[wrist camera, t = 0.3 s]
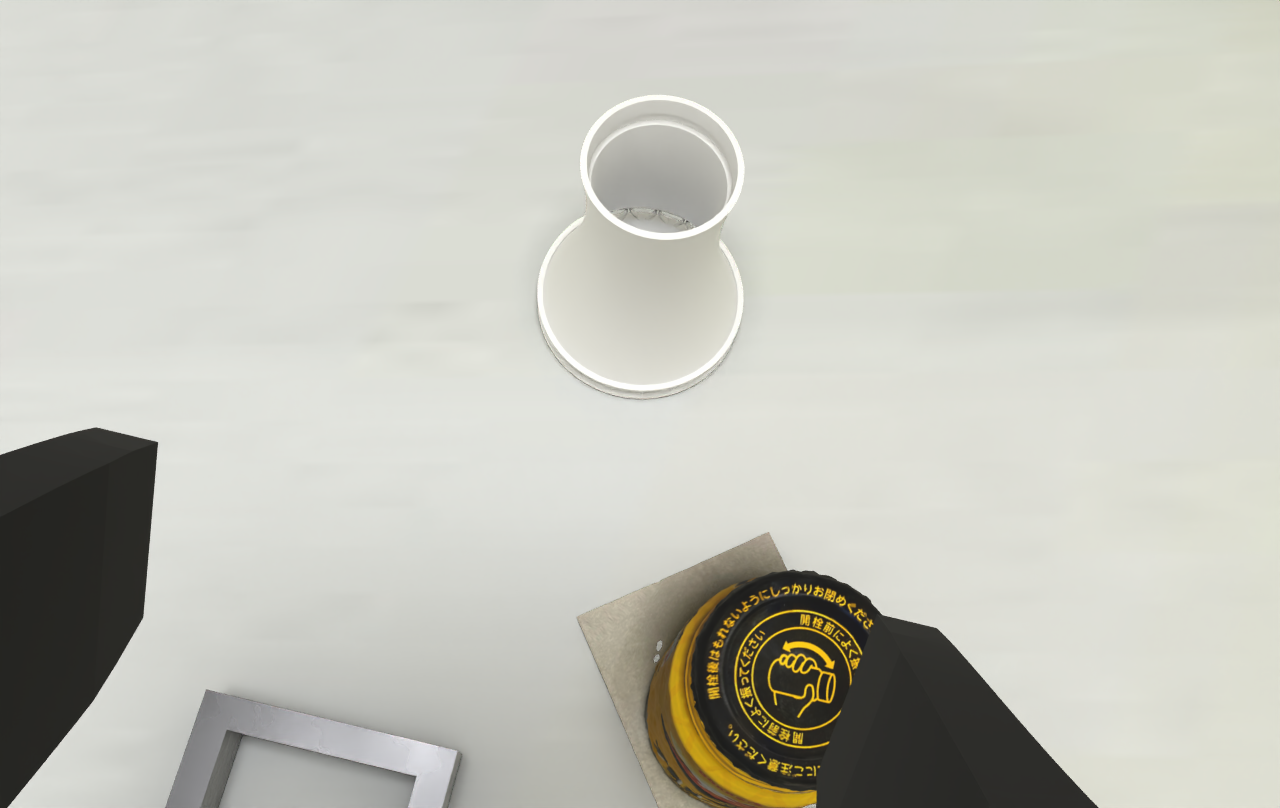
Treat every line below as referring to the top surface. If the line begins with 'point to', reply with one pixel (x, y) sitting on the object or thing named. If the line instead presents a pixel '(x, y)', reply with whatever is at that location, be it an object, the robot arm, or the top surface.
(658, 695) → the condiment
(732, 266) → the vase
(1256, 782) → the top surface
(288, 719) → the rack frame
